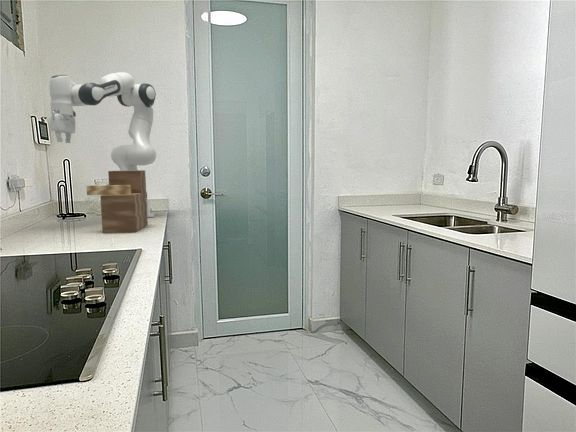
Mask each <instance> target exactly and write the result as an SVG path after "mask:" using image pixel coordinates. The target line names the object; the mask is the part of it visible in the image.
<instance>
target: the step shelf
mask: <svg viewBox="0 0 576 432" xmlns="http://www.w3.org/2000/svg"><path fill="white" fill-rule="evenodd" d="M146 178H147V177H146V170H139V169H138V170H135V171H121V170H108V185H131V194H130V195H99V197H100V211H101V228H102V231H101V232H102V234H121V233H122V234H123V233H124V234H126V233H127V234H128V233H129V234H130V233H138V232H139V231H141V230H142V229H144V228H146V227H147V226H148V225H149V224H148V223H149V221H148V217H147V199H148V197H147V198H146V191H147V182H146V181H147V179H146Z"/></svg>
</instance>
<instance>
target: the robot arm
mask: <svg viewBox="0 0 576 432" xmlns="http://www.w3.org/2000/svg"><path fill="white" fill-rule="evenodd" d="M134 80H135V79H134V78H133V76H132V75H131V74H130V73H128V72H125V71H118V72H112V73H108V74H106V75H104V76H102V77H101V78H100V80H99V83H95V82H86V83H81V84H79V83H78V84H77V83H76V82H74V81H73V80H71V79H70V77H69V75H67V74H60V75H59V74H58V75H57V74H56V75H53V76H51V77H50V79H49V96H50V113H51V114H50V115H49V127H50V131H51V132H54V134H55V137H56V142H57V143H63V138H62V133H64V134H65V141H64V142H65V143H66V144H71V139H72V134H75V133H76V117H77V114H76V111H75V110H74V108H73V107H83V106H85V107H86V106H97V105H99V104H100V103H101V102H102V101H103V100H104V99H106V98H107V97H108V98H111V97H117V98H116V99H117V101H118V103H119V104H120V105H121V106H123V107H129V108H130V107H133V112H132V113H133V114H132V115H131V116H132V117H131V120H130V123H129V127H128V133H127V134H128V135H129V137H130V138H131V139H132V140H133V142H132V144H122V145H118V146H115V147H114V148H112V150H111V153H110V157H111V160H112V163H114V164H115V165H116V166H117V167H118V168H119V171H135V170H139V169H138V166H147V165H150V164H153V163H154V162H155V161H156V158H157V152H156V150H155V148H154V147H153V146H152V145H151V142H150V136H151V130H152V125H153V122H154V109H153V107H152V106H153V105H154V103H155V100H156V96H157V93H156V90H155V88H154V86H153V85H151V84H149V83H137V84H135V81H134ZM146 198H147V218H154V217H155V212H151V211H152V208H151V205H150V201H149V200H148V192H147V190H146Z"/></svg>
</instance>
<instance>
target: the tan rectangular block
mask: <svg viewBox="0 0 576 432" xmlns="http://www.w3.org/2000/svg"><path fill="white" fill-rule="evenodd" d="M85 187H86V188H85V189H86V196H101V195H130V194H131V185H109V184H107V185H104V184H103V185H98V184H95V185H86V186H85Z"/></svg>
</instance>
